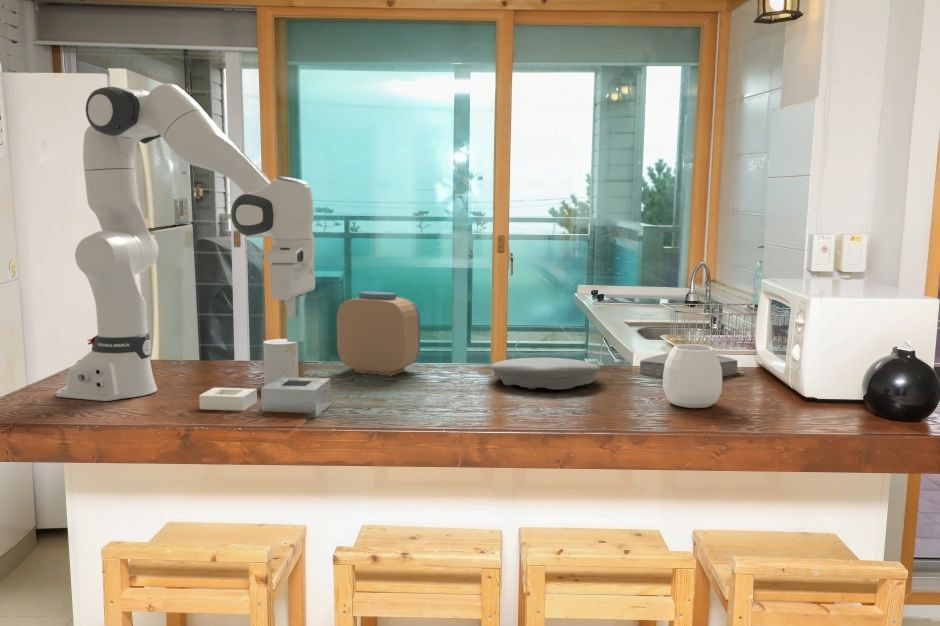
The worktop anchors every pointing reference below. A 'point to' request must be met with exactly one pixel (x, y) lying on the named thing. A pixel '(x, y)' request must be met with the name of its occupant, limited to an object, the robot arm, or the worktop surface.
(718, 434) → the worktop surface
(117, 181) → the robot arm
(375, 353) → the alarm clock
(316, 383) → the port
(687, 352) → the cup
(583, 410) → the worktop surface
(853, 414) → the worktop surface
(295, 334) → the plug
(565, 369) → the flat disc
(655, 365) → the electronic device
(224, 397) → the white square-hole block
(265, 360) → the cup
